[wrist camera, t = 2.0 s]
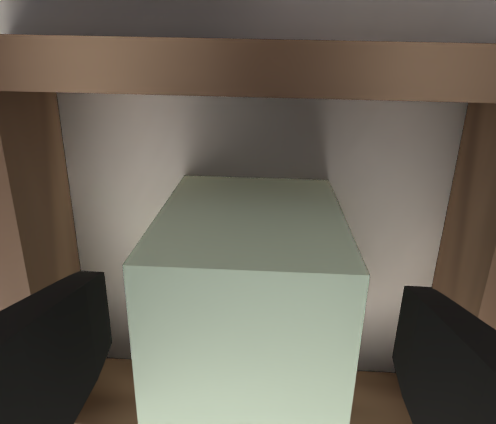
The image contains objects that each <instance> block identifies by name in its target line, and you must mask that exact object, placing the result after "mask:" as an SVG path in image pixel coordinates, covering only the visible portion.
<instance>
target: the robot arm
mask: <svg viewBox="0 0 496 424" xmlns="http://www.w3.org/2000/svg"><path fill="white" fill-rule="evenodd" d="M111 344H112V337H111V328H110V319H109V311H108V302H107V294H106V285H105V276H104V272H88V271H79V272H76V273H74V274H71V275H69V276H67V277H65V278H63V279H61V280H59V281H57V282H55V283H53V284H51V285H49V286H47V287H45V288H43V289H41V290H39V291H37V292H36V293H34V294H32V295H30V296H28V297H26V298H24V299H22V300H20V301H18V302H16V303H14V304H13V305H11V306H9V307H7V308H5V309H3V310H1V311H0V424H74V423H75V421H76V419H77V417H78V415H79V413H80V412H81V410H82V408H83V406H84V404H85V402H86V401H87V399H88V397H89V395H90V393H91V391H92V389H93V388H94V386H95V384H96V382H97V380H98V378H99V375H100V373H101V370H102V368H103V365H104V363H105V360H106V357H107V355H108V352H109V349H110V346H111ZM392 358H393V362H394V366H395V371H396V375H397V379H398V383H399V387H400V390H401V394H402V398H403V400H404V403H405V406H406V408H407V411H408V413H409V416H410V418H411V421H412V424H496V330H495V329H494V328H492V327H491V326H489V325H488V324H486V323H485V322H483V321H482V320H481V319H479V318H478V317H476V316H475V315H473V314H472V313H470V312H469V311H467V310H466V309H465V308H463V307H462V306H460V305H459V304H457V303H456V302H454V301H453V300H451V299H450V298H448V297H447V296H445V295H444V294H442V293H440V292H439V291H437V290H435V289H434V288H432V287H418V286H404V292H403V298H402V303H401V309H400V315H399V321H398V327H397V332H396V338H395V344H394V350H393V356H392Z"/></svg>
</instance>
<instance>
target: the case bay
mask: <svg viewBox="0 0 496 424" xmlns="http://www.w3.org/2000/svg"><path fill="white" fill-rule="evenodd" d="M56 92H64V93H104V94H145V95H186V96H226V97H267V98H307V99H348V100H388V101H429V102H468V107H467V113H466V118H465V123H464V128H463V133H462V138H461V143H460V148H459V153H458V158H457V163H456V168H455V173H454V178H453V183H452V188H451V193H450V198H449V203H448V208H447V213H446V218H445V223H444V228H443V233H442V238H441V243H440V248H439V253H438V258H437V264H436V269H435V274H434V279H433V284H432V288H434V289H435V290H437V291H439V292H440V293H442V294H444V295H445V296H447V297H448V298H450V299H451V300H453V301H454V302H456V303H457V304H459V305H460V306H462V307H463V308H465V309H466V310H467V311H469V312H470V313H472V314H473V315H475V316H476V317H478V318H479V319H481V320H482V321H483V322H485V323H486V324H488V325H489V326H491V327H492V328H494V329H495V330H496V44H495V43H442V42H389V41H336V40H283V39H230V38H177V37H124V36H71V35H18V34H0V311H1V310H3V309H5V308H7V307H9V306H11V305H13V304H14V303H16V302H18V301H20V300H22V299H24V298H26V297H28V296H30V295H32V294H34V293H36V292H37V291H39V290H41V289H43V288H45V287H47V286H49V285H51V284H53V283H55V282H57V281H59V280H61V279H63V278H65V277H67V276H69V275H71V274H74V273H76V272H79V271H81V270H80V263H79V256H78V248H77V241H76V234H75V227H74V219H73V212H72V205H71V198H70V190H69V183H68V176H67V169H66V161H65V154H64V147H63V140H62V132H61V125H60V118H59V111H58V103H57V96H56ZM74 424H138V419H137V409H136V399H135V388H134V378H133V368H132V359H114V358H106V360H105V363H104V365H103V368H102V370H101V373H100V375H99V378H98V380H97V382H96V384H95V386H94V388H93V389H92V391H91V393H90V395H89V397H88V399H87V401H86V402H85V404H84V406H83V408H82V410H81V412H80V413H79V415H78V417H77V419H76V421H75V423H74ZM350 424H412V421H411V418H410V416H409V413H408V411H407V408H406V406H405V403H404V400H403V398H402V394H401V390H400V387H399V383H398V379H397V375H396V373H386V372H367V371H357V373H356V380H355V388H354V395H353V402H352V409H351V417H350Z"/></svg>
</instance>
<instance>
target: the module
mask: <svg viewBox="0 0 496 424" xmlns="http://www.w3.org/2000/svg"><path fill="white" fill-rule="evenodd" d="M122 266H123V276H124V286H125V297H126V307H127V317H128V327H129V337H130V348H131V358H132V368H133V378H134V388H135V399H136V409H137V419H138V424H350V417H351V409H352V402H353V395H354V388H355V380H356V373H357V366H358V359H359V351H360V344H361V337H362V330H363V322H364V315H365V308H366V301H367V293H368V286H369V279H370V274H369V272H368V270H367V268H366V265H365V263H364V261H363V258H362V256H361V254H360V252H359V249H358V247H357V245H356V242H355V240H354V238H353V235H352V233H351V231H350V229H349V226H348V224H347V222H346V219H345V217H344V215H343V212H342V210H341V208H340V206H339V203H338V201H337V199H336V196H335V194H334V192H333V189H332V187H331V185H330V183H329V180H311V179H280V178H249V177H219V176H188V175H184V177H183V178H182V180H181V181H180V183H179V184H178V186H177V187H176V188H175V190H174V191H173V193H172V194H171V196H170V197H169V199H168V200H167V201H166V203H165V204H164V206H163V207H162V209H161V210H160V212H159V213H158V214H157V216H156V217H155V219H154V220H153V222H152V223H151V225H150V226H149V227H148V229H147V230H146V232H145V233H144V235H143V236H142V238H141V239H140V241H139V242H138V243H137V245H136V246H135V248H134V249H133V251H132V252H131V254H130V255H129V256H128V258H127V259H126V261H125V262H124V264H123V265H122Z"/></svg>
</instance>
